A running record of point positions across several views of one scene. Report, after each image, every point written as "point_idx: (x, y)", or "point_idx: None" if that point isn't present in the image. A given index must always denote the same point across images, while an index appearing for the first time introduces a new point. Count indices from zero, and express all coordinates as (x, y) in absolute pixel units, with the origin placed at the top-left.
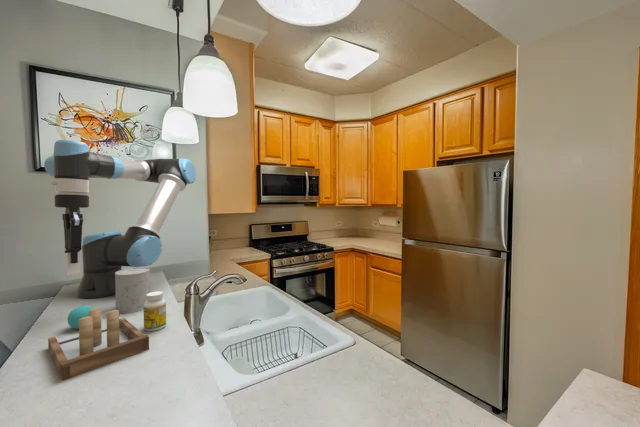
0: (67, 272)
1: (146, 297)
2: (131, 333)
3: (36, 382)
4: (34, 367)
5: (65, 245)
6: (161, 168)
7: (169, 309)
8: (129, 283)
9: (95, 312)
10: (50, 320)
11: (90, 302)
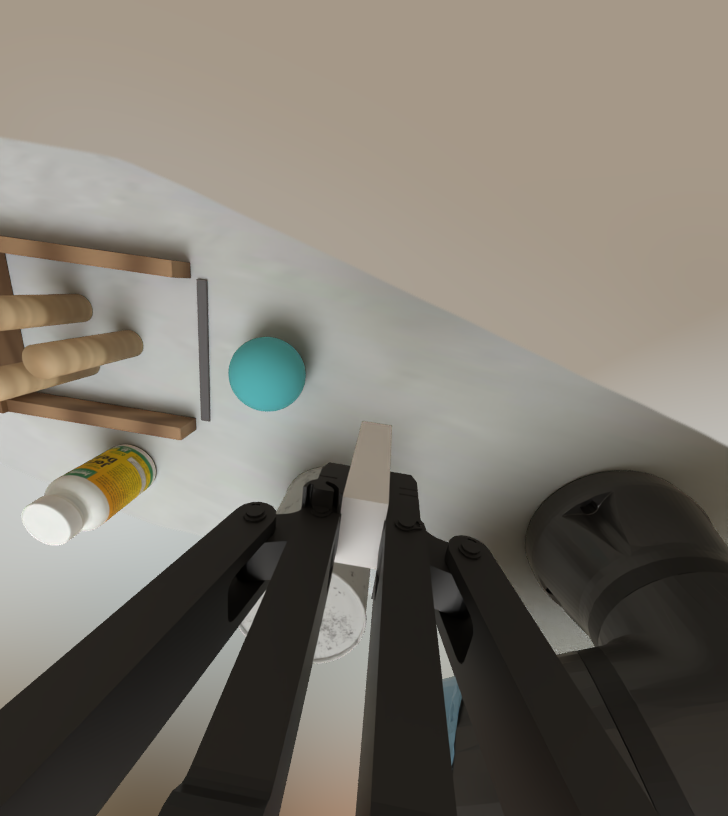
0: (365, 427)
1: (49, 499)
2: (81, 407)
3: (10, 194)
4: (93, 210)
5: (468, 561)
6: None
7: None
8: None
9: (25, 357)
10: (437, 332)
11: (516, 467)
